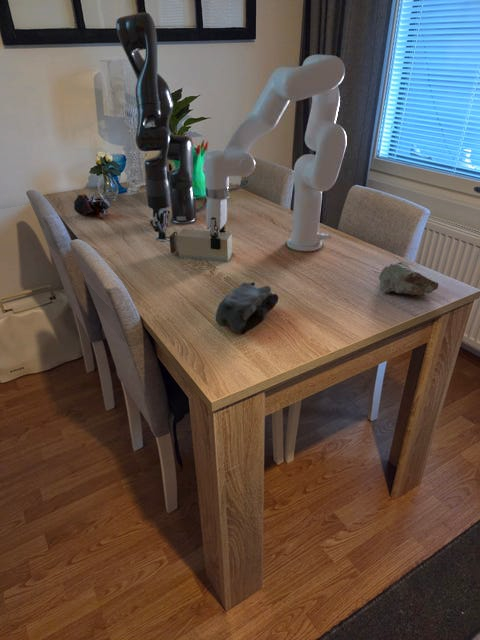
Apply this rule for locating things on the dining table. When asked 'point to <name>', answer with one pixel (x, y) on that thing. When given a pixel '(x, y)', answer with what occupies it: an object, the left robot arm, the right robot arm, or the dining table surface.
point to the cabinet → (203, 245)
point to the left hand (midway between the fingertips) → (163, 241)
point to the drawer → (172, 241)
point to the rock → (245, 307)
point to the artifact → (405, 280)
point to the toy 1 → (90, 206)
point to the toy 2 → (197, 170)
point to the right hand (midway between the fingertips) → (218, 244)
